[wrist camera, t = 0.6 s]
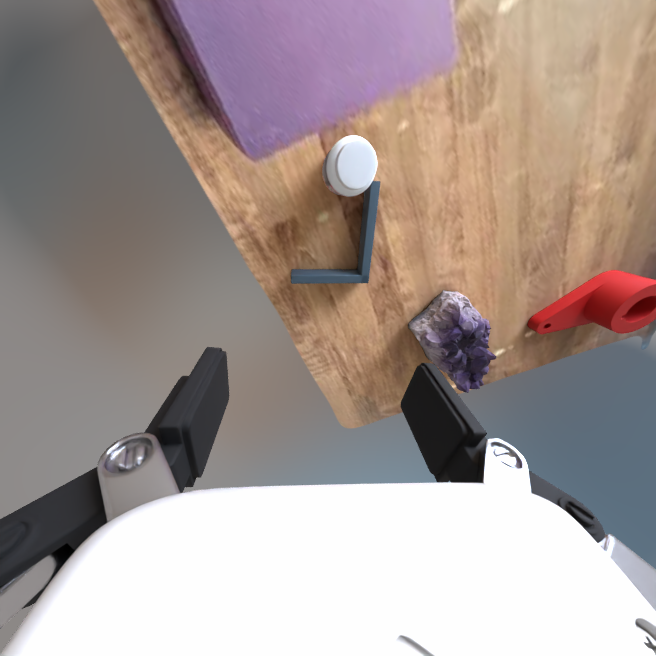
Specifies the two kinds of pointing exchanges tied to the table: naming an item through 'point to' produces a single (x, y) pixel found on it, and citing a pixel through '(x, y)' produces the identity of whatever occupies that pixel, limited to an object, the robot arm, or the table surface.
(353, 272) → the corner
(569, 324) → the lever
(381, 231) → the table surface
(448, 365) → the geode
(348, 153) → the pill bottle
